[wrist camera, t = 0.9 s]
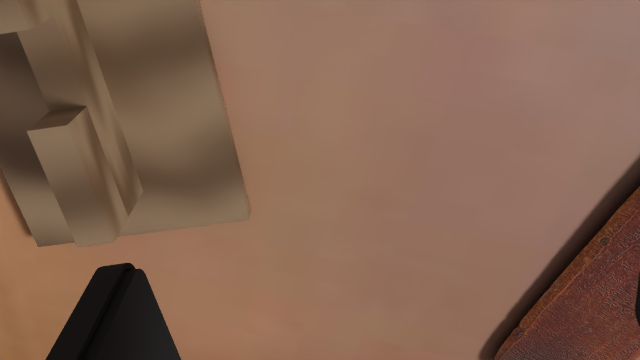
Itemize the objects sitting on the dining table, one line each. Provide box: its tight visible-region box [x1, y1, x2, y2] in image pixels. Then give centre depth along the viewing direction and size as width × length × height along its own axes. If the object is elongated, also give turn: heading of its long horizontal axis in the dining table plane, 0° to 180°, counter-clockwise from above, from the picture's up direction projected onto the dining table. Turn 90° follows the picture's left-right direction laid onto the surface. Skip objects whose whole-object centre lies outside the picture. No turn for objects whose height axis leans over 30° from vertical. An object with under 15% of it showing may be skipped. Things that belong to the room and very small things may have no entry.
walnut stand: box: [0, 0, 251, 247], centre depth 28 cm, size 24×14×6 cm, turn 9°
